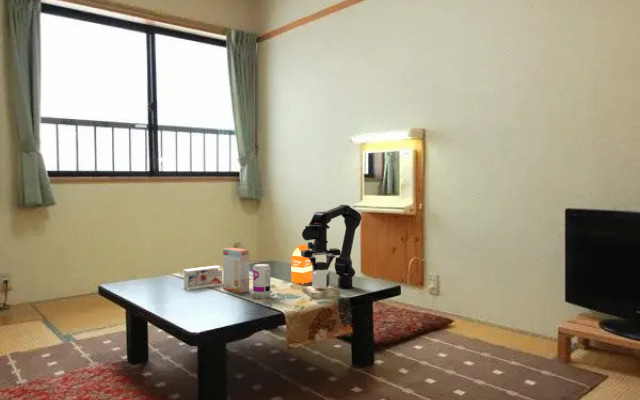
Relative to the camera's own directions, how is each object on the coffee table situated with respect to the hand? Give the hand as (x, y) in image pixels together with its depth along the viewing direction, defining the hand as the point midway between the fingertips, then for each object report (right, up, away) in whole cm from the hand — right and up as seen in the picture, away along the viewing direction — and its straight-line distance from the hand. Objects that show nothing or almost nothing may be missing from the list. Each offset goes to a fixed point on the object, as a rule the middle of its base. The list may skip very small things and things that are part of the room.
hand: (320, 270), depth 239 cm
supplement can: (-28, -12, -5) cm, 31 cm away
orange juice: (-10, -10, +28) cm, 31 cm away
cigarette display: (-61, -11, +17) cm, 64 cm away
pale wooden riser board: (0, -11, 0) cm, 11 cm away
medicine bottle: (0, -8, 0) cm, 8 cm away
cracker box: (-42, -11, +7) cm, 44 cm away
